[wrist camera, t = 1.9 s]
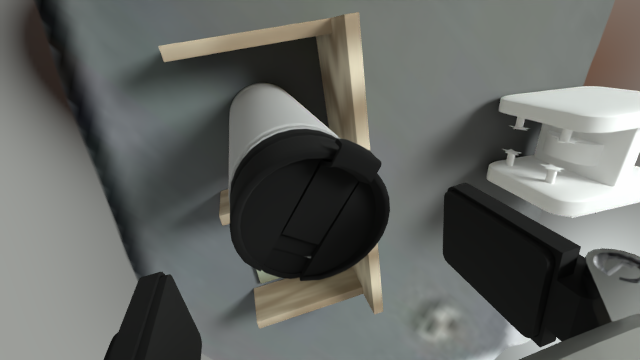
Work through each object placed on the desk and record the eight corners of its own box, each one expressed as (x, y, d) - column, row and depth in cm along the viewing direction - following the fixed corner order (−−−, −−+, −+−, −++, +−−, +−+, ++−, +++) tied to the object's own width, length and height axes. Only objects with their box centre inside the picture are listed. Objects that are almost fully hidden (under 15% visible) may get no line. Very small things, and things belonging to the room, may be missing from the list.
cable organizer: (591, 82, 37) (726, 97, 27) (566, 161, 42) (674, 200, 32) (488, 94, 34) (599, 115, 24) (473, 178, 39) (561, 227, 28)
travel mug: (309, 97, 29) (431, 181, 11) (279, 157, 31) (346, 312, 13) (247, 65, 26) (281, 109, 9) (218, 132, 28) (199, 283, 10)
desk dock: (171, 45, 24) (147, 46, 17) (324, 20, 27) (358, 12, 20) (255, 294, 37) (261, 353, 30) (355, 263, 39) (383, 311, 32)
